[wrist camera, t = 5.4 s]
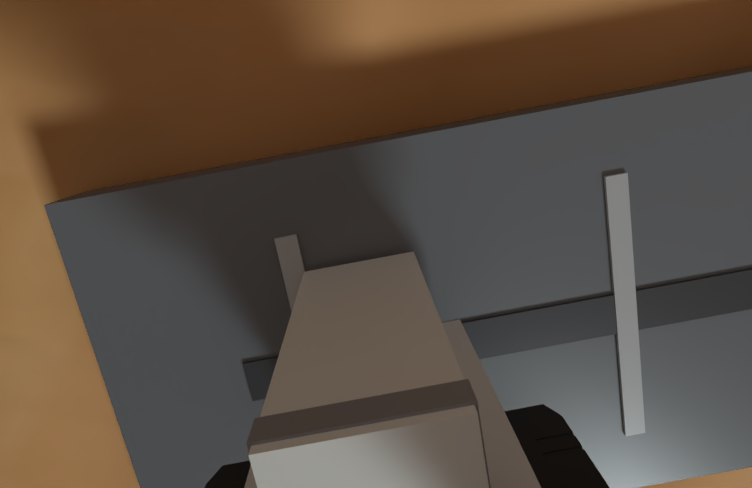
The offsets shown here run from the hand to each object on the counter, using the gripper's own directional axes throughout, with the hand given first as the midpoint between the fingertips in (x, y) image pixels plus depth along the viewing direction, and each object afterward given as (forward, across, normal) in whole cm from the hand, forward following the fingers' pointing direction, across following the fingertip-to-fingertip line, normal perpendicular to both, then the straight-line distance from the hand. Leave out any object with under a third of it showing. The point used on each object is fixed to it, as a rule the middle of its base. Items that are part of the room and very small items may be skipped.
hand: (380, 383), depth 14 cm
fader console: (+4, +7, 0) cm, 8 cm away
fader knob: (+1, 0, 0) cm, 1 cm away
